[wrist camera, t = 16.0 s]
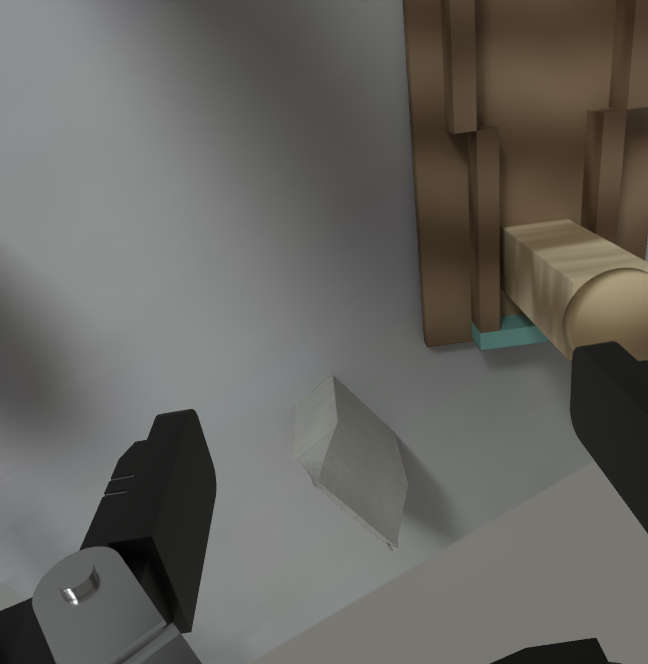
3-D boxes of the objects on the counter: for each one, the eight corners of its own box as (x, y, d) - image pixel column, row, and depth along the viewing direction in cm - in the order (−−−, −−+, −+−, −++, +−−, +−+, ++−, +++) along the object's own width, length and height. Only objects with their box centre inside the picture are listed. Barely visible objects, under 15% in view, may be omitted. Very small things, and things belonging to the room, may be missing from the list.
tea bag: (332, 374, 40) (342, 463, 30) (394, 432, 42) (420, 532, 33) (294, 406, 41) (292, 502, 31) (357, 461, 43) (372, 566, 34)
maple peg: (495, 222, 34) (576, 284, 24) (574, 211, 34) (689, 269, 24) (495, 295, 36) (570, 381, 26) (570, 285, 36) (675, 368, 26)
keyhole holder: (395, -108, 28) (405, -128, 26) (677, -150, 28) (718, -175, 25) (424, 340, 39) (433, 360, 36) (630, 313, 38) (655, 331, 36)
